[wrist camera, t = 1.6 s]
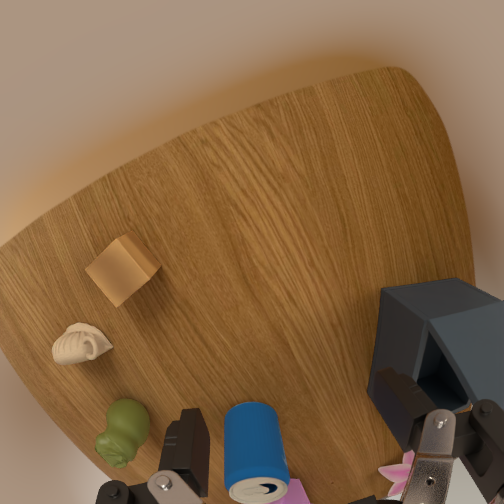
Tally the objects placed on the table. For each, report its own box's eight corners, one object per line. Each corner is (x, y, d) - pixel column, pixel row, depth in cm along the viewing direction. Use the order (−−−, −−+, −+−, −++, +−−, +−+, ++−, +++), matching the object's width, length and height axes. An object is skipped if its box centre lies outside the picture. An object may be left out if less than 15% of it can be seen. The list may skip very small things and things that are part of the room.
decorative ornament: (56, 328, 29) (34, 349, 24) (109, 314, 29) (90, 337, 24) (71, 357, 30) (52, 380, 25) (124, 346, 30) (109, 372, 25)
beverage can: (281, 426, 34) (296, 498, 22) (233, 436, 34) (235, 509, 22) (270, 392, 33) (285, 470, 21) (217, 403, 33) (215, 482, 21)
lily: (436, 424, 39) (443, 454, 30) (446, 464, 37) (451, 495, 28) (375, 446, 43) (371, 478, 34) (390, 483, 41) (387, 515, 32)
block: (132, 229, 28) (116, 238, 23) (161, 265, 29) (150, 279, 24) (103, 258, 28) (84, 270, 24) (131, 291, 29) (116, 308, 25)
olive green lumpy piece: (161, 417, 33) (146, 476, 23) (128, 423, 33) (109, 477, 23) (138, 386, 32) (116, 444, 22) (105, 393, 32) (78, 446, 22)
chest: (436, 373, 35) (468, 407, 26) (366, 392, 34) (393, 436, 25) (456, 277, 31) (502, 300, 23) (381, 288, 31) (424, 320, 22)
